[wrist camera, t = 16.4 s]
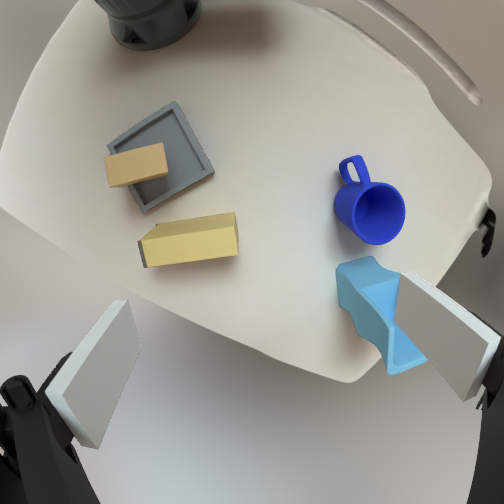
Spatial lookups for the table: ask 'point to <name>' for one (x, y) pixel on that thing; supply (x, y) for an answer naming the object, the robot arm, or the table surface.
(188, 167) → the tray
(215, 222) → the grey-ended yellow block
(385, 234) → the mug
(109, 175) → the stub
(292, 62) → the table surface
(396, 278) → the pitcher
